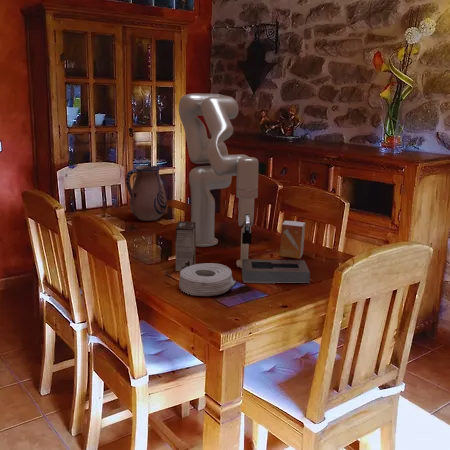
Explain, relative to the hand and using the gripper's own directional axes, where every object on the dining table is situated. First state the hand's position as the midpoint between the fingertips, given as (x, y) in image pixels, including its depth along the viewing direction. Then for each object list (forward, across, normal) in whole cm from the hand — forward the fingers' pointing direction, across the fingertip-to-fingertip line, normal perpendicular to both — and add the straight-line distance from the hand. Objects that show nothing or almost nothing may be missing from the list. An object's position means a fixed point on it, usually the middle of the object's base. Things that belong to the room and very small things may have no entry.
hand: (246, 239), depth 189 cm
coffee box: (+10, +3, -22) cm, 24 cm away
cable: (+11, +21, -14) cm, 27 cm away
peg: (+10, -1, 0) cm, 10 cm away
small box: (+10, -14, +18) cm, 25 cm away
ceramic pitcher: (+8, -63, -44) cm, 77 cm away
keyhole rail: (+10, +10, +10) cm, 17 cm away
